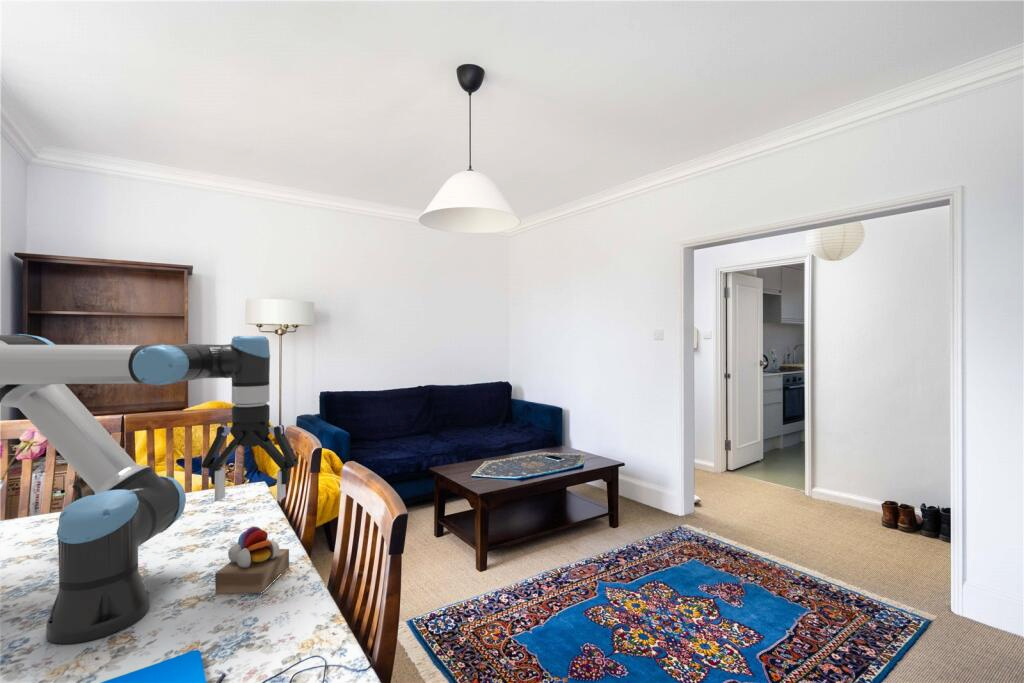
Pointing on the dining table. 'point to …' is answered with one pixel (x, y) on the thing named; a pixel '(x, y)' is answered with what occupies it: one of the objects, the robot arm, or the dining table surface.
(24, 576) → the dining table surface
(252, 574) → the walnut block
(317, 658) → the dining table surface
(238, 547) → the rainbow cloud toy
